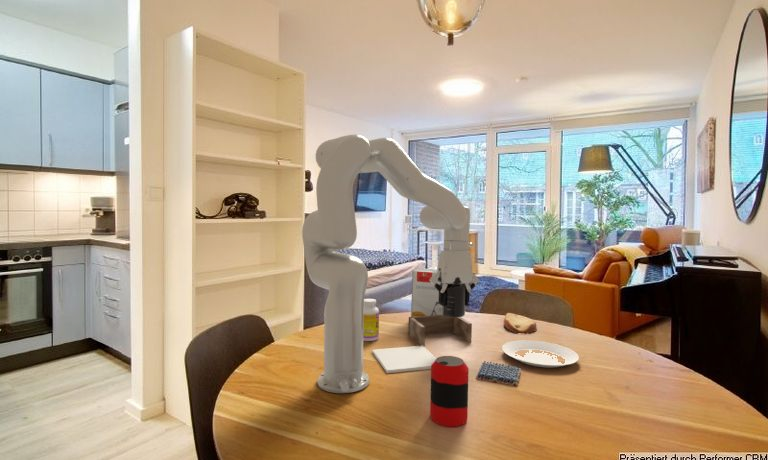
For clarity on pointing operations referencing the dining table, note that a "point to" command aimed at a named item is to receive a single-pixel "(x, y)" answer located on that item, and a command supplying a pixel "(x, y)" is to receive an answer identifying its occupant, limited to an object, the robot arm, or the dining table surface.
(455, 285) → the supplement bottle
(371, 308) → the supplement bottle
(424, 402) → the dining table surface
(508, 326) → the slice of bread
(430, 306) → the hard drive box
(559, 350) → the plate
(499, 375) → the woven mat
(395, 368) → the white square board
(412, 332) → the shelf bay
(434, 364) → the soda can
